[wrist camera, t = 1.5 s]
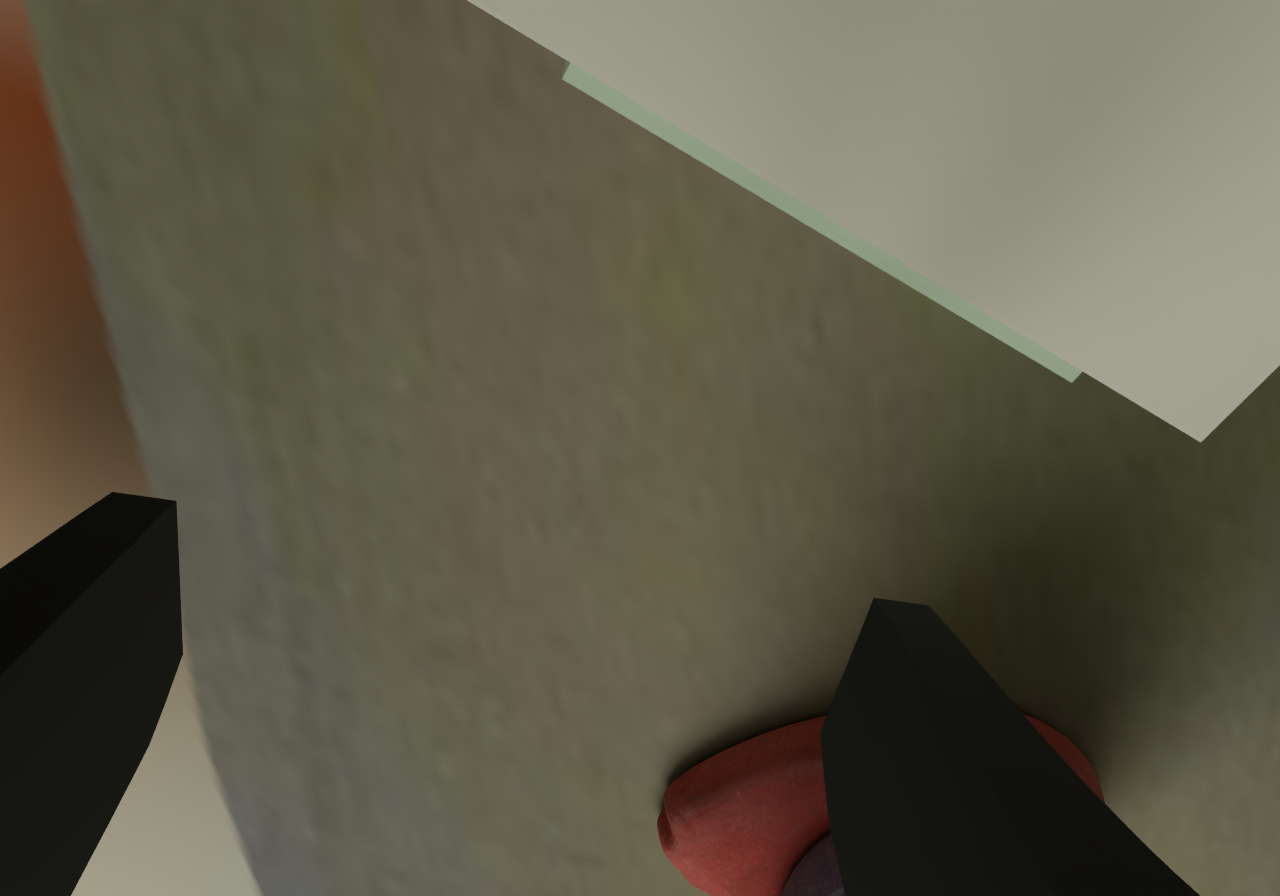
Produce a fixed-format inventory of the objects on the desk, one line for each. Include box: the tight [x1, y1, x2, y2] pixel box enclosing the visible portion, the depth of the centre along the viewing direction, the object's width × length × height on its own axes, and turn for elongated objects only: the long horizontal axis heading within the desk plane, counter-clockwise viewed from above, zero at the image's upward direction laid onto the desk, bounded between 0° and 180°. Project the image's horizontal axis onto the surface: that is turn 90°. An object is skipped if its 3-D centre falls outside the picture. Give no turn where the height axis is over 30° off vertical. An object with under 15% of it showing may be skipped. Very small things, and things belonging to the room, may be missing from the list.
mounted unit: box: [468, 0, 1280, 442], centre depth 14 cm, size 13×7×6 cm, turn 59°
